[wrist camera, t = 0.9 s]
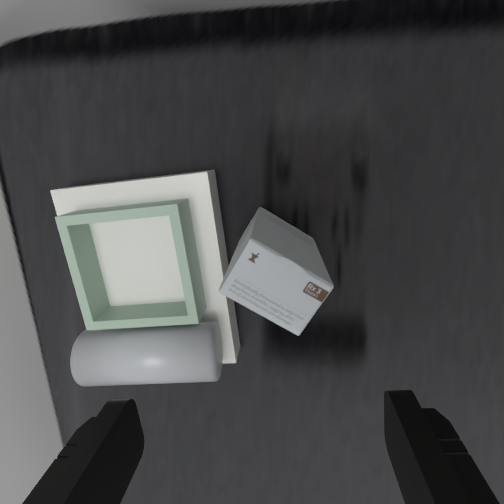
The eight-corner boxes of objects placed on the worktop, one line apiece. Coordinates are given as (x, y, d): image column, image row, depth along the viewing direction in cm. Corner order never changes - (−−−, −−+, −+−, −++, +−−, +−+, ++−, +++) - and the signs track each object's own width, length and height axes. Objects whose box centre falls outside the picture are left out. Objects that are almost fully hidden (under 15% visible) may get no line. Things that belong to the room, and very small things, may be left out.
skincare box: (237, 243, 33) (210, 295, 21) (261, 202, 31) (245, 234, 20) (293, 275, 33) (295, 343, 22) (318, 236, 32) (336, 287, 20)
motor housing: (214, 169, 31) (190, 176, 23) (240, 345, 36) (227, 399, 28) (70, 186, 33) (5, 198, 25) (114, 352, 38) (70, 403, 30)
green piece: (188, 198, 29) (177, 204, 26) (206, 307, 32) (198, 323, 29) (76, 210, 30) (54, 217, 27) (104, 314, 33) (86, 330, 30)
